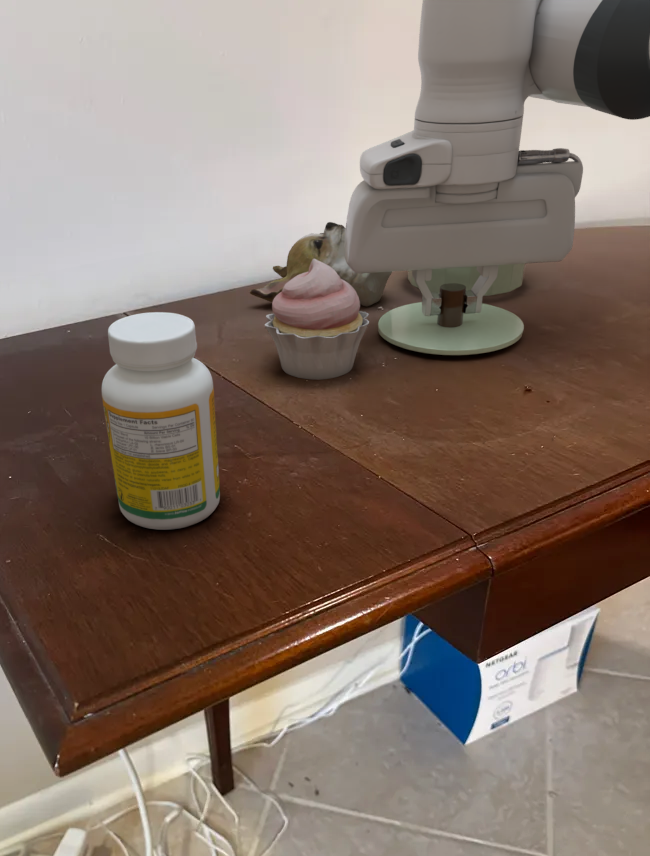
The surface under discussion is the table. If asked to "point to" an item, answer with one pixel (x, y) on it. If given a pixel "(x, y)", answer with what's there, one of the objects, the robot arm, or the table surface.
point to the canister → (475, 278)
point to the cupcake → (317, 324)
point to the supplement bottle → (161, 422)
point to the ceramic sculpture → (332, 254)
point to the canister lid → (451, 326)
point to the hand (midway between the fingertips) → (450, 312)
